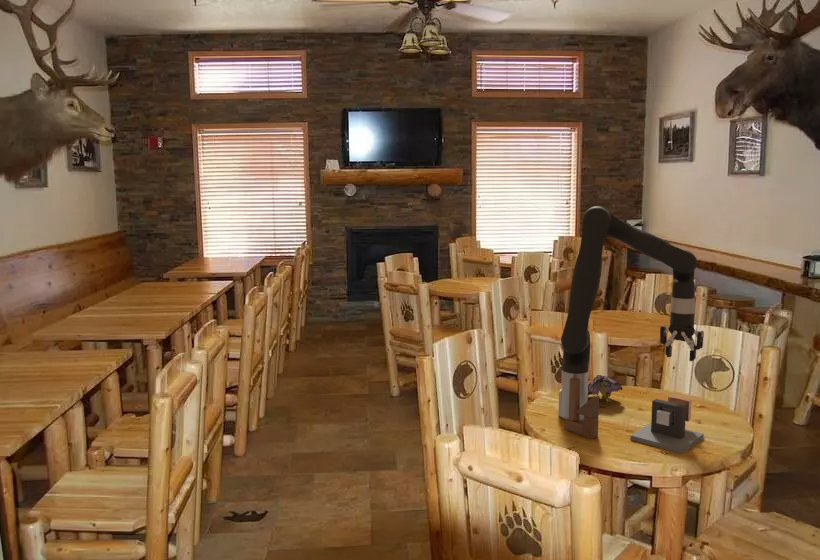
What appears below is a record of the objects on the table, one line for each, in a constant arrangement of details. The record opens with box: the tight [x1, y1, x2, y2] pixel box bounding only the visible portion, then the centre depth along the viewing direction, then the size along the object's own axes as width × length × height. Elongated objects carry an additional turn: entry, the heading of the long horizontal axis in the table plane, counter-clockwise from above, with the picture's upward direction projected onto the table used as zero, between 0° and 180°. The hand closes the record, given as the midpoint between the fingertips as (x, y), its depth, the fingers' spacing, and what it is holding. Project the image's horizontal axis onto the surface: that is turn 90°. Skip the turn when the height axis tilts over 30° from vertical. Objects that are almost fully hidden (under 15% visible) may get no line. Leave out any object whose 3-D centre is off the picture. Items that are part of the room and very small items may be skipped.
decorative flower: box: [588, 374, 623, 406], centre depth 259 cm, size 15×12×15 cm
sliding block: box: [656, 395, 693, 426], centre depth 223 cm, size 7×14×7 cm, turn 136°
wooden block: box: [565, 378, 600, 440], centre depth 226 cm, size 4×11×18 cm, turn 37°
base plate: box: [629, 422, 705, 454], centre depth 222 cm, size 17×17×2 cm
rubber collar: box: [650, 398, 687, 439], centre depth 221 cm, size 10×3×10 cm, turn 46°
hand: (680, 358), depth 229 cm, fingers open, 7 cm apart
